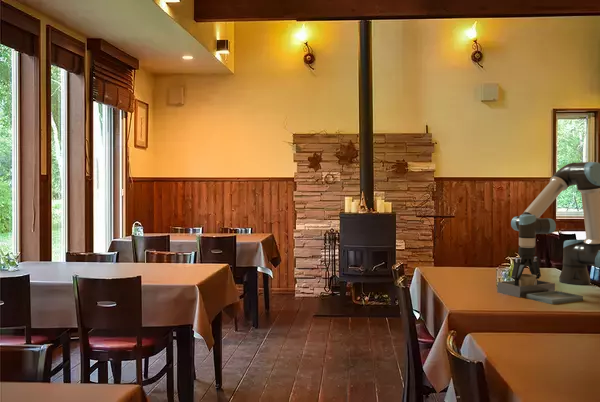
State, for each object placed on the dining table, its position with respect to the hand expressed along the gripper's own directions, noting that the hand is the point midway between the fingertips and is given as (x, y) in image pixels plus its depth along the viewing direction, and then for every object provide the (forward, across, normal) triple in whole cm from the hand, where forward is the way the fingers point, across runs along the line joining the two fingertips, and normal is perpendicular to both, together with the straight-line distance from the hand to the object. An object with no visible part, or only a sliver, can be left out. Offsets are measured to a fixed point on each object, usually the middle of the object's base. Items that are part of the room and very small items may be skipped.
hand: (525, 292), depth 275 cm
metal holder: (0, 0, 0) cm, 0 cm away
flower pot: (0, 0, 0) cm, 0 cm away
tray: (0, 0, +16) cm, 17 cm away
